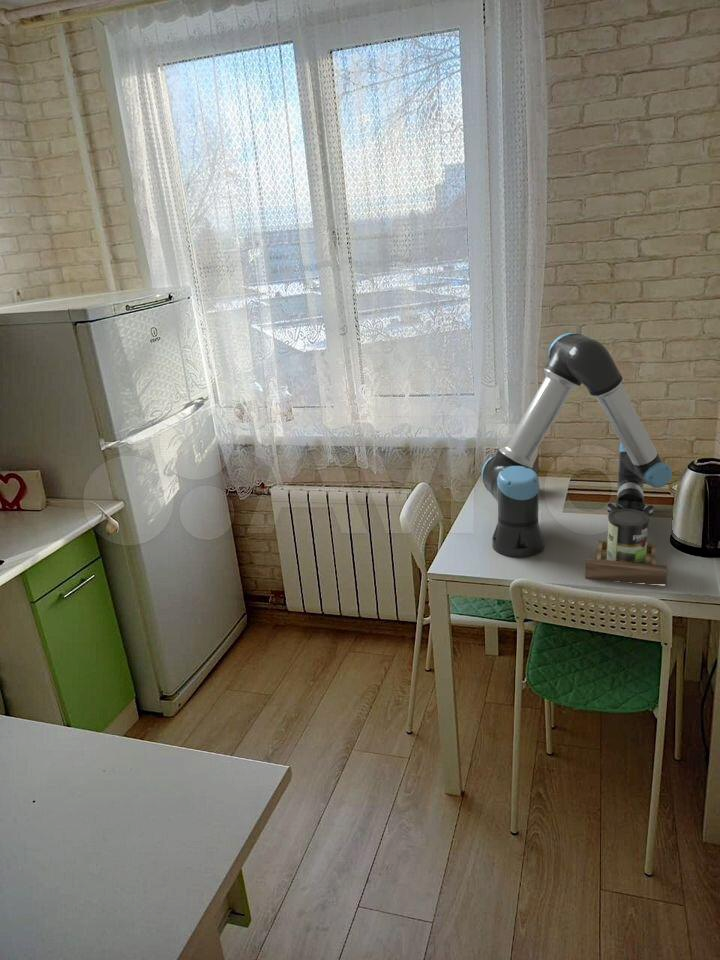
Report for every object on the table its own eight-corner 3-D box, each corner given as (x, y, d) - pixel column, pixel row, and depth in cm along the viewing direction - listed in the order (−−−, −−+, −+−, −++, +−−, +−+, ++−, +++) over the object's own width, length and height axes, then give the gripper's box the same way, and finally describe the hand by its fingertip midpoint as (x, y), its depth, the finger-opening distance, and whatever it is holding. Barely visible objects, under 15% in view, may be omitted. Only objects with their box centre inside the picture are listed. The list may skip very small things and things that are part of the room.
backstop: (665, 588, 184) (667, 571, 182) (585, 579, 191) (585, 563, 190) (665, 582, 187) (666, 565, 185) (585, 574, 194) (586, 558, 192)
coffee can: (653, 562, 194) (657, 516, 188) (630, 576, 189) (633, 529, 183) (621, 549, 202) (623, 504, 196) (598, 562, 196) (600, 517, 191)
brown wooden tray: (655, 580, 188) (655, 570, 186) (595, 574, 193) (595, 564, 192) (654, 554, 201) (655, 545, 199) (598, 549, 206) (599, 540, 205)
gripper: (652, 511, 216) (654, 545, 196) (607, 509, 221) (604, 542, 200) (654, 488, 213) (656, 521, 193) (608, 486, 218) (605, 518, 197)
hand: (629, 531), depth 197 cm, fingers closed
